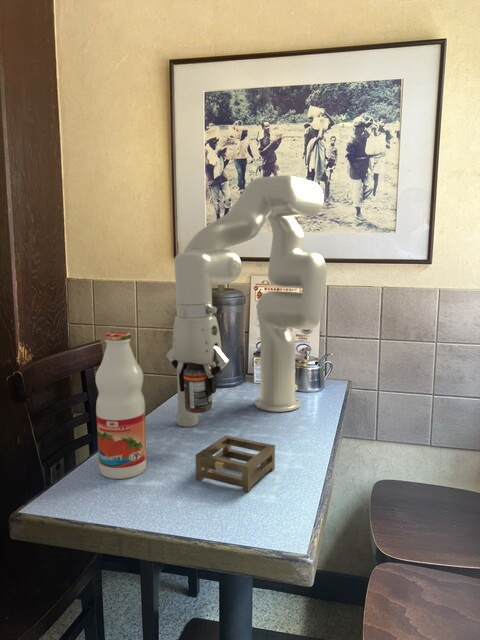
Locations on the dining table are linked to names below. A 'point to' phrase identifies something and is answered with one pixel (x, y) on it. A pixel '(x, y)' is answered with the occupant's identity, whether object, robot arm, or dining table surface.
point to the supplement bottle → (196, 389)
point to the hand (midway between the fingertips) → (198, 391)
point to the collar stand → (235, 462)
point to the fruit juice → (120, 410)
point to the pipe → (184, 410)
